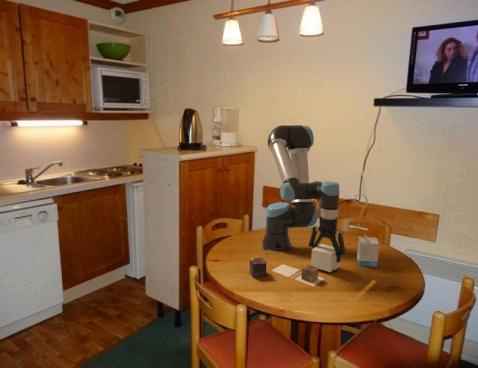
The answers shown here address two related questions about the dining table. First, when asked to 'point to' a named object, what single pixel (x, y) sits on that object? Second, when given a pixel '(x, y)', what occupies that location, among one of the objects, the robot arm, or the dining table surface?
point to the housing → (323, 257)
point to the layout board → (307, 281)
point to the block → (309, 273)
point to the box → (258, 267)
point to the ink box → (367, 251)
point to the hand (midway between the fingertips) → (325, 265)
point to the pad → (285, 270)
